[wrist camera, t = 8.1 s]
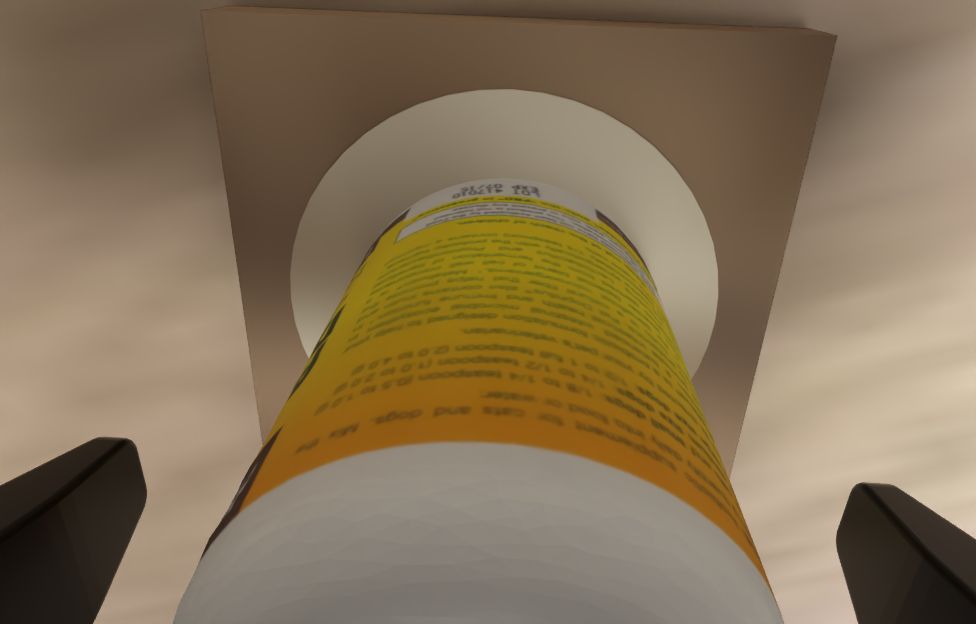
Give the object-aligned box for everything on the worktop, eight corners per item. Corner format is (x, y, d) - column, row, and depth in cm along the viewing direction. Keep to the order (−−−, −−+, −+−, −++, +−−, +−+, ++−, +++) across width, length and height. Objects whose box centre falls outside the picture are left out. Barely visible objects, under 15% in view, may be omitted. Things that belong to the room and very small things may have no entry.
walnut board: (706, 485, 16) (719, 525, 15) (286, 459, 17) (267, 497, 16) (809, 28, 12) (839, 36, 11) (229, 5, 12) (198, 10, 11)
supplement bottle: (345, 163, 12) (-240, 826, 3) (671, 171, 12) (1173, 917, 3) (367, 427, 14) (97, 1223, 5) (635, 438, 14) (828, 1287, 5)
